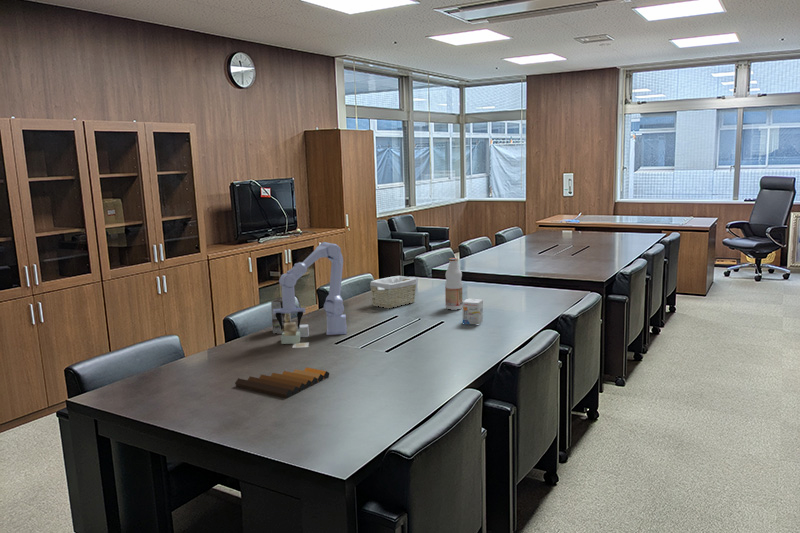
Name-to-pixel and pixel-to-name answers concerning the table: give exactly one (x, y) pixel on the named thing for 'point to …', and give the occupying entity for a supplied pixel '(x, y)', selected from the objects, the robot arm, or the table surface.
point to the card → (300, 345)
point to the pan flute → (284, 382)
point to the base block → (290, 338)
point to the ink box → (472, 311)
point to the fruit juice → (453, 285)
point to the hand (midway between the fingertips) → (290, 328)
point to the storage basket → (393, 291)
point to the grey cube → (303, 330)
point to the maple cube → (290, 328)
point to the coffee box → (285, 316)
